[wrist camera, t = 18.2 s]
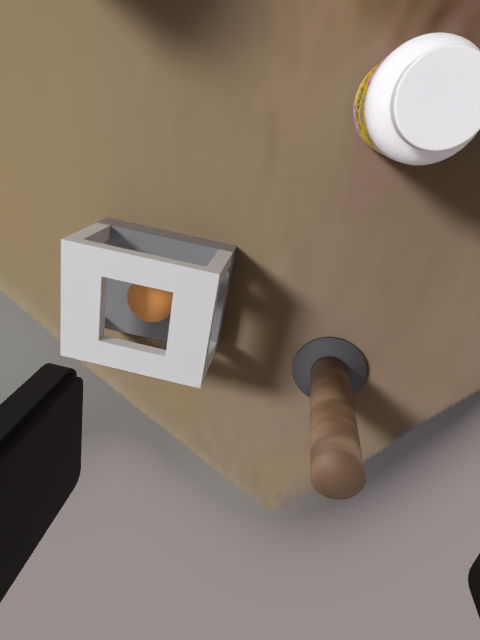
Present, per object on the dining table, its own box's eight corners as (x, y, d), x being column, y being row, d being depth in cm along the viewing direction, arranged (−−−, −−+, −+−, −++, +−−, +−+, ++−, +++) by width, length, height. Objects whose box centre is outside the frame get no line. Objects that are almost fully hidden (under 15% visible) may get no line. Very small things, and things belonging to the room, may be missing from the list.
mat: (375, 346, 41) (376, 348, 40) (354, 406, 44) (354, 409, 43) (302, 329, 41) (302, 331, 41) (285, 390, 44) (285, 392, 44)
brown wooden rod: (353, 361, 41) (372, 465, 28) (342, 392, 43) (356, 504, 30) (315, 352, 41) (318, 452, 29) (306, 383, 43) (304, 492, 30)
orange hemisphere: (181, 276, 38) (175, 284, 36) (176, 317, 40) (169, 326, 38) (137, 266, 38) (128, 273, 36) (133, 307, 40) (125, 316, 38)
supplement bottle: (378, 40, 31) (419, -10, 20) (463, 77, 31) (554, 49, 20) (336, 135, 34) (349, 141, 22) (414, 168, 34) (468, 191, 23)
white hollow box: (236, 246, 39) (219, 274, 31) (218, 343, 43) (200, 388, 36) (106, 218, 39) (61, 239, 32) (101, 316, 44) (60, 355, 36)
